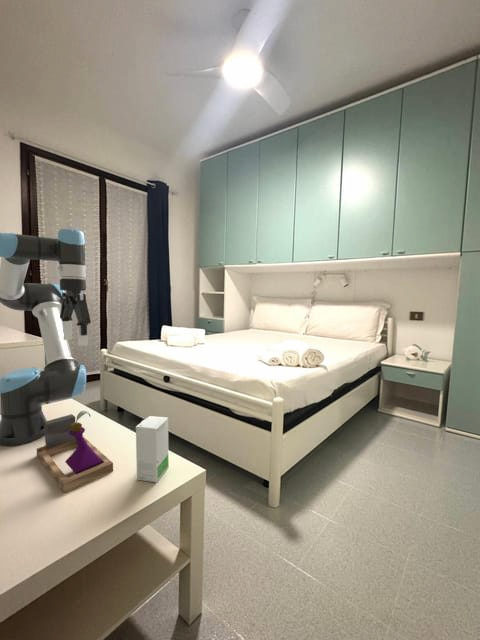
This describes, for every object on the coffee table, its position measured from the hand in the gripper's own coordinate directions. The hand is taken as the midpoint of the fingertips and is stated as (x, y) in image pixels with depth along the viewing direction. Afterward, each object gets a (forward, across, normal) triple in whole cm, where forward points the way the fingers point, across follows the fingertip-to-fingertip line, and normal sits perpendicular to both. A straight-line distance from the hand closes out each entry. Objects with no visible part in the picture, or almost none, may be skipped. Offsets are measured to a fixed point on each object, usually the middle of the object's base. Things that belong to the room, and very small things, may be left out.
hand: (75, 342), depth 100 cm
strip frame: (+35, +13, -6) cm, 38 cm away
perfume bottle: (+35, +19, -5) cm, 40 cm away
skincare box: (+35, +34, +8) cm, 49 cm away
